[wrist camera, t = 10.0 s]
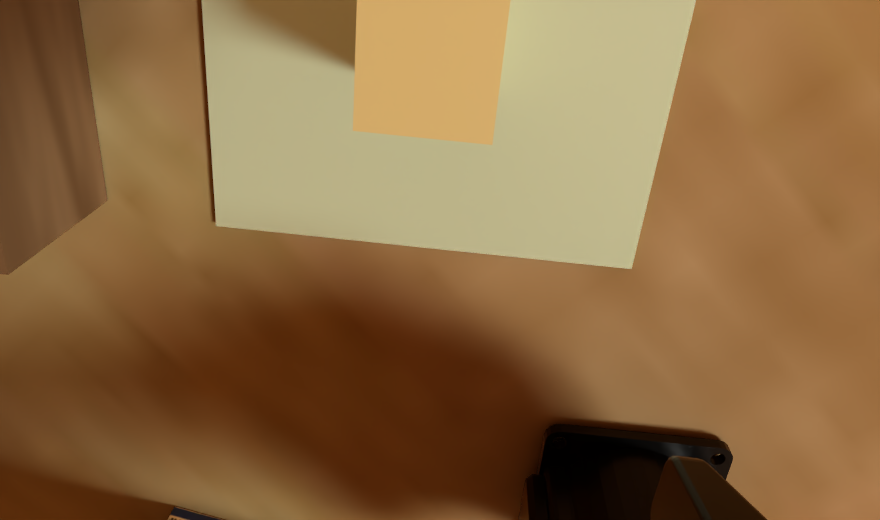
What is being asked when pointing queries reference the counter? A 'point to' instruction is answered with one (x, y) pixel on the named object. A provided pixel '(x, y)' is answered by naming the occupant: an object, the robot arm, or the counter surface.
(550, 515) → the robot arm
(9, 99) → the box
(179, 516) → the beverage box
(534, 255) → the lid
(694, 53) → the counter surface
